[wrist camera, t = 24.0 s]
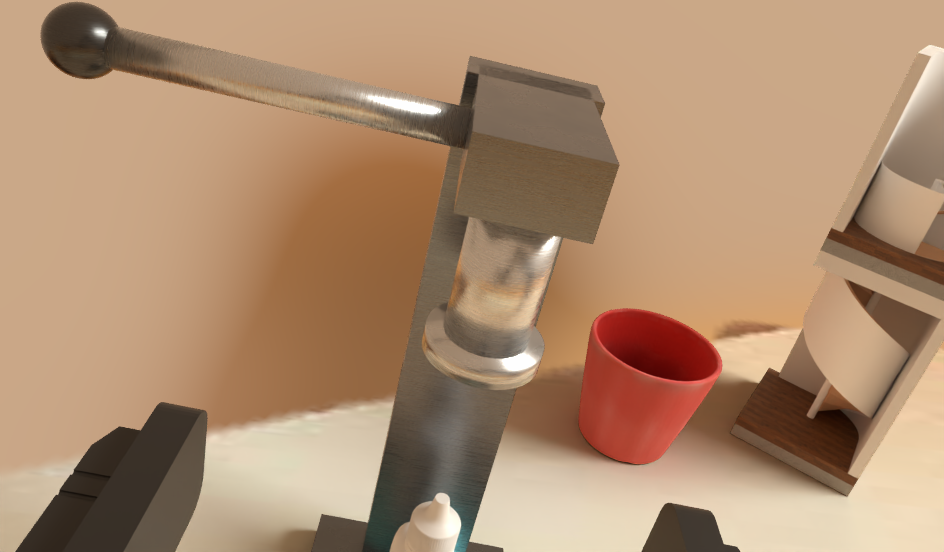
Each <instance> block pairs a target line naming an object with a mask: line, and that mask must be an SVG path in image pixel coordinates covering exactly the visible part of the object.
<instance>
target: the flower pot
mask: <svg viewBox="0 0 944 552" xmlns="http://www.w3.org/2000/svg"><path fill="white" fill-rule="evenodd" d="M721 371H722V360H721V357H720V355H719V353H718V351H717V350H716V349H715V347H714V346H713V345H712V344H711V343H710V342H709V341H708V340H707V339H706V338H704V337H703V336H702V335H701V334H699V333H698V332H697V331H695V330H693V329H692V328H690V327H688V326H686V325H685V324H683V323H681V322H679V321H676V320H674V319H672V318H670V317H667V316H664V315H661V314H658V313H654V312H650V311H645V310H639V309H628V308H626V309H615V310H610V311H607V312H604V313H602V314H601V315H599V316H598V317H597V318H596V319H595V320H594V322H593V324H592V327H591V332H590V337H589V342H588V349H587V356H586V362H585V369H584V376H583V383H582V391H581V400H580V409H579V420H578V421H579V428H580V431H581V433H582V434H583V436H584V438H585V439H586V440H587V441H588V442H589V443H590V444H591V445H592V446H593V447H594V448H595V449H597V450H598V451H599V452H601V453H603V454H604V455H606V456H608V457H610V458H613V459H615V460H618V461H622V462H630V463H633V464H647V463H651V462H654V461H656V460H658V459H659V458H660V457H661V456H662V455H663V454H664V453H665V451H666V450H667V449H668V447H669V446H670V445H671V443H672V442H673V441H674V439H675V438H676V437H677V435H678V434H679V433H680V432H681V430H682V429H683V428H684V426H685V425H686V423H687V422H688V421H689V419H690V418H691V416H692V415H693V414H694V412H695V411H696V409H697V408H698V406H699V405H700V404H701V402H702V401H703V399H704V398H705V396H706V395H707V394H708V392H709V391H710V389H711V388H712V386H713V385H714V383H715V382H716V380H717V378H718V377H719V375H720V373H721Z"/></svg>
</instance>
